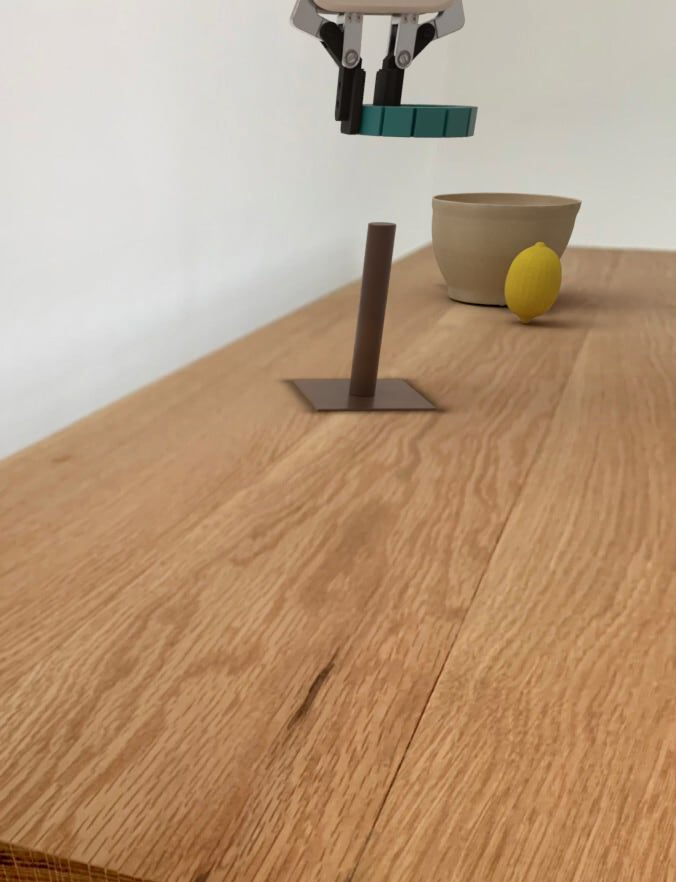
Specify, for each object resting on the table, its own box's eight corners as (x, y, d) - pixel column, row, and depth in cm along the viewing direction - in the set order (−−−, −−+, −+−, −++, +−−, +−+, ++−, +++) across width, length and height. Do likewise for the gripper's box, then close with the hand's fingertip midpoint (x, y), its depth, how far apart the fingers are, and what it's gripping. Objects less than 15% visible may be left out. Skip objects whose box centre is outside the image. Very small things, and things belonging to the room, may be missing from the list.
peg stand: (399, 397, 91) (424, 216, 84) (433, 428, 83) (464, 231, 76) (291, 398, 90) (307, 216, 83) (315, 429, 82) (335, 231, 75)
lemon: (552, 330, 115) (569, 246, 111) (497, 326, 117) (512, 243, 112) (552, 320, 120) (568, 240, 115) (499, 317, 121) (513, 237, 117)
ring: (451, 132, 83) (455, 104, 82) (488, 138, 76) (493, 108, 75) (340, 131, 83) (343, 103, 82) (367, 137, 75) (370, 106, 74)
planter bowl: (537, 289, 137) (556, 191, 131) (579, 314, 123) (602, 206, 117) (406, 287, 137) (420, 189, 132) (434, 311, 123) (450, 203, 118)
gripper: (502, -185, 73) (456, 132, 83) (267, -191, 72) (247, 130, 82) (545, -210, 67) (489, 138, 76) (288, -216, 66) (264, 136, 75)
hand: (364, 132), depth 79 cm, fingers closed on ring, 1 cm apart
